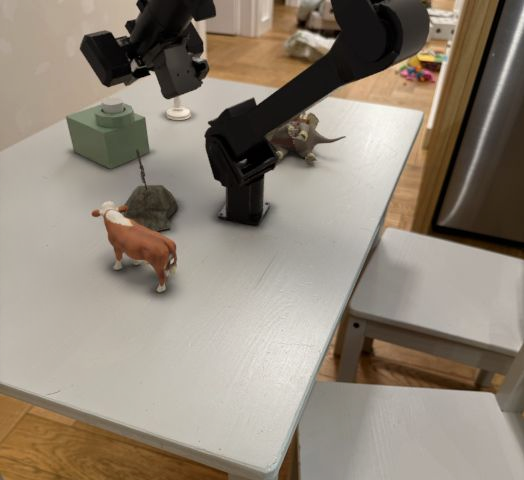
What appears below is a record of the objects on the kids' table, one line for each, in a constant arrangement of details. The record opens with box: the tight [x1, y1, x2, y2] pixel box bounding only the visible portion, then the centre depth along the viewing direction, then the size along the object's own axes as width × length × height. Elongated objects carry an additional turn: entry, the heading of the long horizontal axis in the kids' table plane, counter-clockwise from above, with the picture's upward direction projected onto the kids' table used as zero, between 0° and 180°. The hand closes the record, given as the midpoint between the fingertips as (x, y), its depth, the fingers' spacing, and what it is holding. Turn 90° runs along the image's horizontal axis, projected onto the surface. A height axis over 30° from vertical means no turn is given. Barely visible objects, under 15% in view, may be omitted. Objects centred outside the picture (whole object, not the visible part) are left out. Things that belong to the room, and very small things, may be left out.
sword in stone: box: [123, 148, 179, 232], centre depth 71 cm, size 10×8×12 cm
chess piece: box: [166, 95, 192, 121], centre depth 99 cm, size 5×5×10 cm
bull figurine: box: [91, 200, 178, 293], centre depth 62 cm, size 4×13×8 cm, turn 51°
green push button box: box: [65, 102, 150, 170], centre depth 86 cm, size 11×9×8 cm
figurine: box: [269, 111, 347, 164], centre depth 92 cm, size 20×6×17 cm
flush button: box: [101, 96, 124, 114], centre depth 82 cm, size 3×3×2 cm
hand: (125, 82), depth 77 cm, fingers closed
